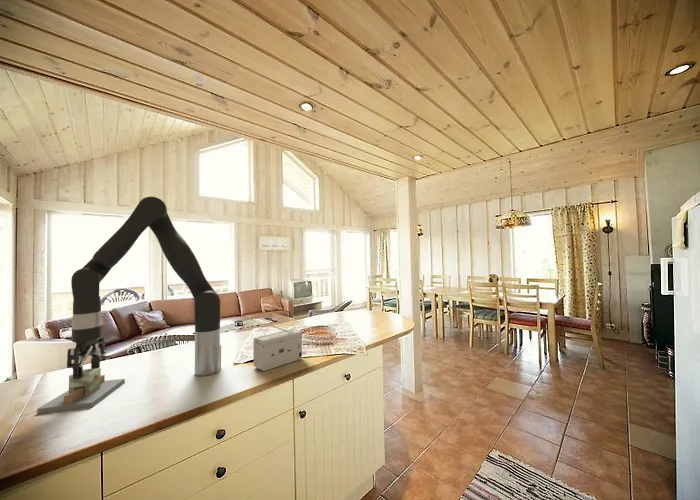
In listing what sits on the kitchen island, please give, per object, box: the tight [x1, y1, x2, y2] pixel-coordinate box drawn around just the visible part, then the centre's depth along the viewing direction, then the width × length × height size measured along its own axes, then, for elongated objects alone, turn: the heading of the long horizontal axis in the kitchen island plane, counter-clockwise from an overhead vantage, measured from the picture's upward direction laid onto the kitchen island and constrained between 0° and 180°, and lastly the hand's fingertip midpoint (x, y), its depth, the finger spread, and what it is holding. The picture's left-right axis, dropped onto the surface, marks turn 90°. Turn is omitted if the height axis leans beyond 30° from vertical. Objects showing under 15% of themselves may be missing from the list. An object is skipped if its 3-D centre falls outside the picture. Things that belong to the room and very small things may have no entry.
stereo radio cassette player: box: [253, 322, 303, 372], centre depth 121 cm, size 21×8×20 cm, turn 135°
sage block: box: [68, 367, 102, 395], centre depth 93 cm, size 7×5×7 cm
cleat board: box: [36, 374, 126, 415], centre depth 93 cm, size 14×18×4 cm
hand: (87, 373), depth 93 cm, fingers open, 8 cm apart
